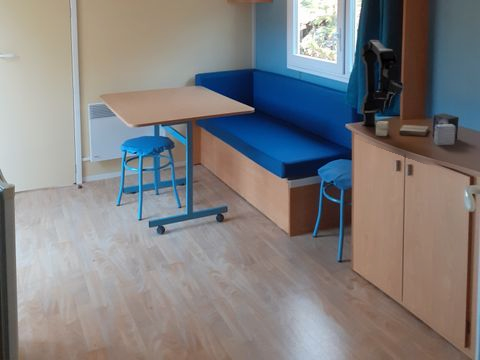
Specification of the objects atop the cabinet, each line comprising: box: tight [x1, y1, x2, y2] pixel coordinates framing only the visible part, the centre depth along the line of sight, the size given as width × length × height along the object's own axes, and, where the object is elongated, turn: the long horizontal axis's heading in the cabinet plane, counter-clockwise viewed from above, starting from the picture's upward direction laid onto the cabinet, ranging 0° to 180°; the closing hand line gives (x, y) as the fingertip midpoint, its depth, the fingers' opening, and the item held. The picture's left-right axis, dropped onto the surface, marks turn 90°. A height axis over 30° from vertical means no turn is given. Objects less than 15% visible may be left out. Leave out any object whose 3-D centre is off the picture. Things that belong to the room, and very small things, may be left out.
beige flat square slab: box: [398, 124, 429, 137], centre depth 306 cm, size 12×12×2 cm
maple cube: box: [375, 120, 389, 137], centre depth 304 cm, size 5×5×6 cm
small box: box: [432, 113, 460, 140], centre depth 293 cm, size 11×6×10 cm, turn 23°
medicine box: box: [433, 124, 456, 146], centre depth 282 cm, size 8×4×9 cm, turn 92°
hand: (384, 110), depth 300 cm, fingers open, 9 cm apart
